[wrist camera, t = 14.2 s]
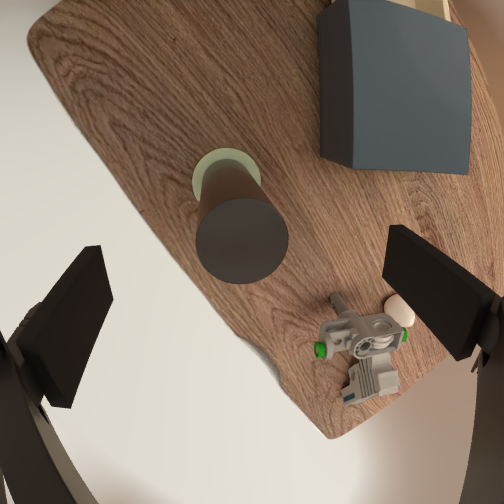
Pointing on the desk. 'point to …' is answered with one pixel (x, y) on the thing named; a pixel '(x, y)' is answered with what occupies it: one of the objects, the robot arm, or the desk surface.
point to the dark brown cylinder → (238, 226)
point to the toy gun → (371, 379)
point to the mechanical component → (358, 333)
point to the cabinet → (393, 88)
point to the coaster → (218, 155)
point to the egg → (399, 311)
